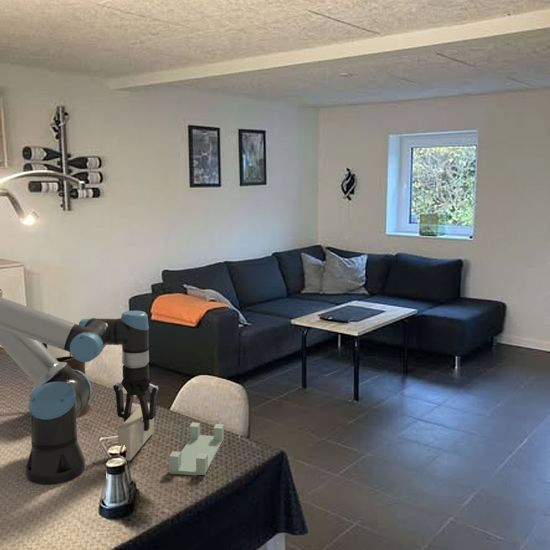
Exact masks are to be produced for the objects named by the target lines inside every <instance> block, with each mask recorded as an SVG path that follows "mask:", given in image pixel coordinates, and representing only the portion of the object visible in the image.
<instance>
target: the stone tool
mask: <svg viewBox="0 0 550 550" xmlns="http://www.w3.org/2000/svg"><path fill="white" fill-rule="evenodd" d="M125 404H126V401H124V411H125ZM139 407H140V403H134V402H132V408H131V414H130V416H131V415H132V414H133V413H134V412H135V411H136V410H137V409H138V408H139Z"/></svg>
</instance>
